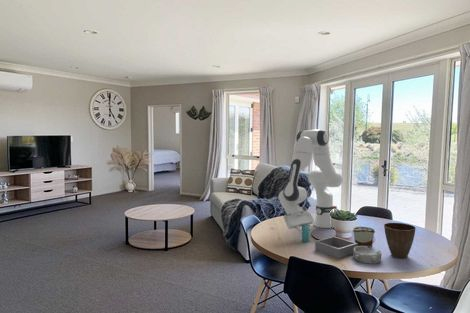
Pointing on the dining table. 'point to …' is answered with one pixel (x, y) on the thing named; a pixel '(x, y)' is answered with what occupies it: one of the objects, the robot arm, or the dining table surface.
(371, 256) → the dish
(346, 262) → the dining table surface
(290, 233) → the dining table surface
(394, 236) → the plant pot
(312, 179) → the robot arm
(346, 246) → the shallow grey tray
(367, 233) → the food container
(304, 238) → the teal upright cylinder
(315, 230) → the dining table surface
